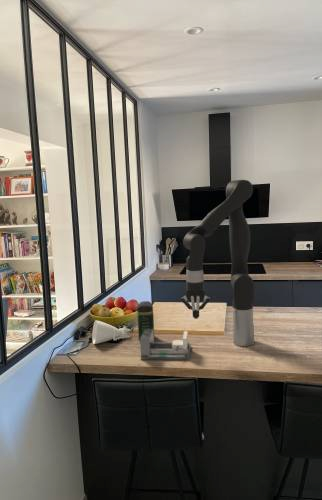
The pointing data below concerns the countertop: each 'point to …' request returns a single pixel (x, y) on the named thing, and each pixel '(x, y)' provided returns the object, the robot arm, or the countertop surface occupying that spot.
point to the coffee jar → (145, 317)
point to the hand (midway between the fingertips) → (196, 318)
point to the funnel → (107, 332)
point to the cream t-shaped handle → (181, 342)
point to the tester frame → (160, 349)
